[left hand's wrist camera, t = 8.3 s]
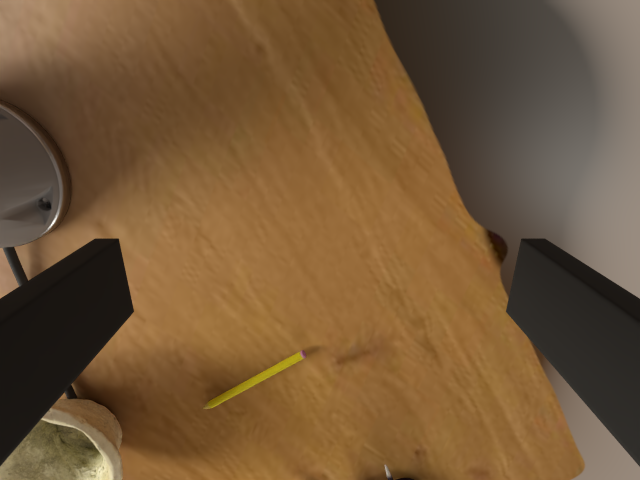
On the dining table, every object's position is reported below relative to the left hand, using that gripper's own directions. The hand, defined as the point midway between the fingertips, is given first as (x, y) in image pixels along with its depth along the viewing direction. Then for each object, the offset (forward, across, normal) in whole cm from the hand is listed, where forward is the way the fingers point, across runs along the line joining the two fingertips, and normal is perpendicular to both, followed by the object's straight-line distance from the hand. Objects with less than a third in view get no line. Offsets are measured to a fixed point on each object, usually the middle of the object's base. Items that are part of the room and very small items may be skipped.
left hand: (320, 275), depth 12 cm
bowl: (+28, +32, +36) cm, 55 cm away
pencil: (+28, +9, +29) cm, 41 cm away
